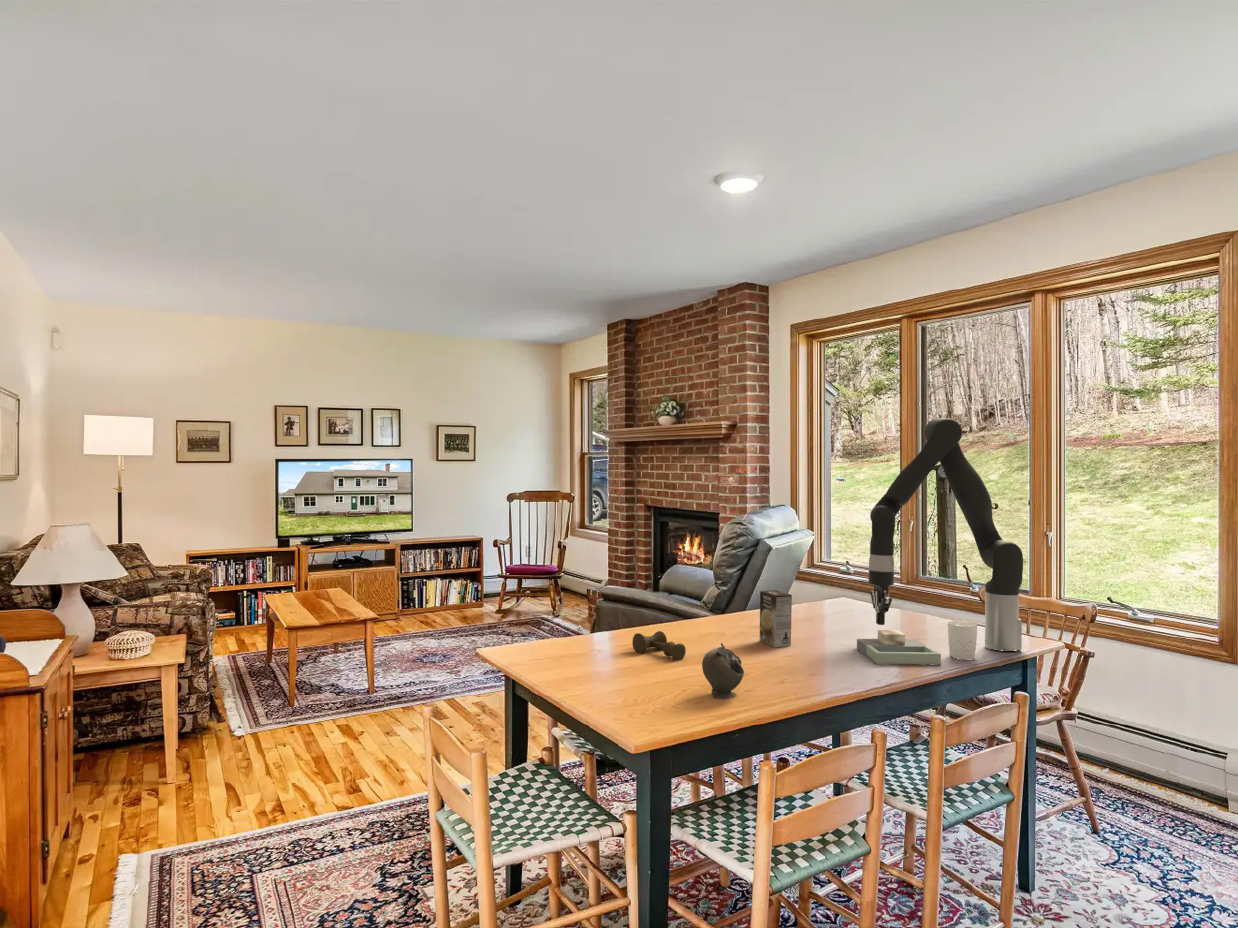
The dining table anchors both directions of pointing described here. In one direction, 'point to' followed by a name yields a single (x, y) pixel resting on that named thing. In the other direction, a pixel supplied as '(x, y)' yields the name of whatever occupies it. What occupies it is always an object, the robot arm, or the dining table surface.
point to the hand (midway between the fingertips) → (880, 624)
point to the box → (904, 656)
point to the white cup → (962, 639)
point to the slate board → (891, 646)
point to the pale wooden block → (891, 637)
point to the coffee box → (775, 618)
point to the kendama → (658, 645)
